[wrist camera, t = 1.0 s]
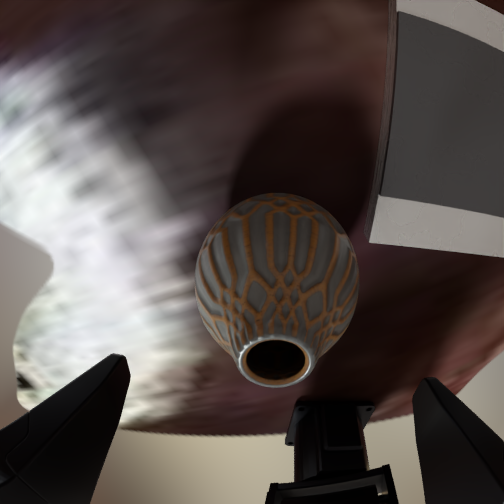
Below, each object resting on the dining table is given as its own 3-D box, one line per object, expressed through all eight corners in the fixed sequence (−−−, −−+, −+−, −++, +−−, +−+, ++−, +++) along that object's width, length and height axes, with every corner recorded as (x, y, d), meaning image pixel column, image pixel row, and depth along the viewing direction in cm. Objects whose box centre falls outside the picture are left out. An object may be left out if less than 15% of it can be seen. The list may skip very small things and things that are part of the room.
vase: (316, 157, 15) (360, 221, 7) (356, 273, 18) (400, 395, 10) (190, 208, 17) (119, 306, 9) (244, 310, 19) (224, 436, 11)
